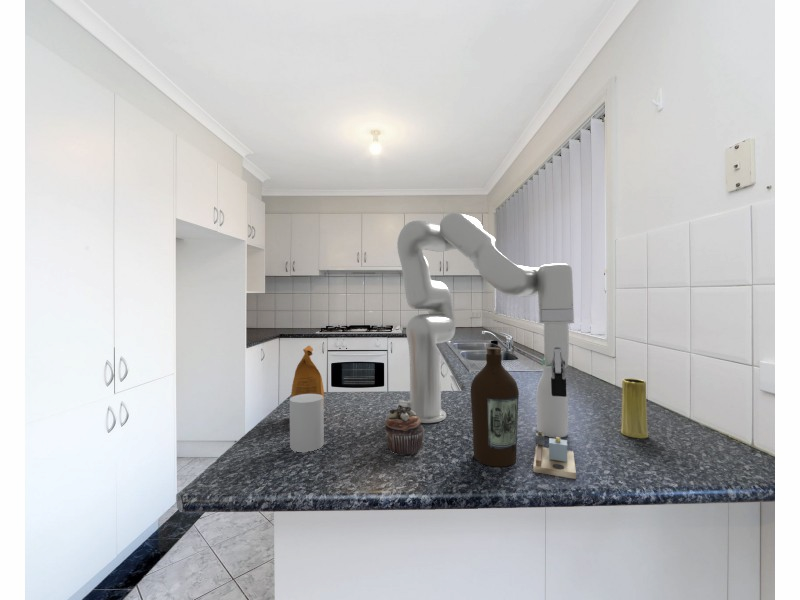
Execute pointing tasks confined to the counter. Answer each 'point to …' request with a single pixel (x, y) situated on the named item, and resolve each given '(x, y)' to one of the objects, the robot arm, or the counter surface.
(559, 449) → the blue block with knob
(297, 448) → the cup
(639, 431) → the vase
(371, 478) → the counter surface
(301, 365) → the coffee package
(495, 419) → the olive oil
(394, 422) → the cupcake
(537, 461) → the board
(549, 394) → the milk bottle
